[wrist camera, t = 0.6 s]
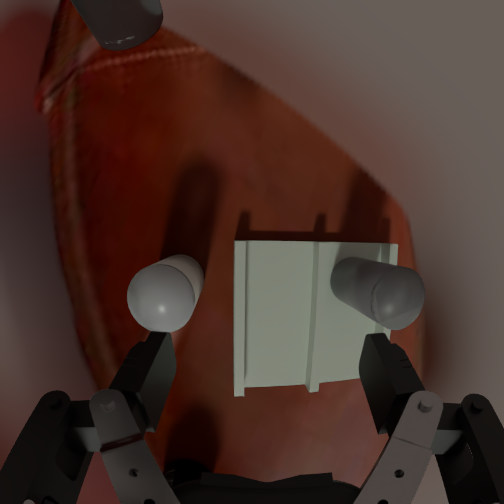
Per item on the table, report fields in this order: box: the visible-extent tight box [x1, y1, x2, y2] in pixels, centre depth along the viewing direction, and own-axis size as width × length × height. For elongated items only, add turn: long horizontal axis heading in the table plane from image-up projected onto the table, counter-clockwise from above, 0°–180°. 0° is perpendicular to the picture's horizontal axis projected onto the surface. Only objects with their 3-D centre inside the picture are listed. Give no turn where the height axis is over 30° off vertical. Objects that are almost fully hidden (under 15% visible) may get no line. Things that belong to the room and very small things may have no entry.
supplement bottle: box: [163, 460, 210, 488], centre depth 26 cm, size 7×7×12 cm
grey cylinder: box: [330, 257, 425, 330], centre depth 26 cm, size 5×5×10 cm
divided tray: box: [233, 240, 398, 396], centre depth 30 cm, size 16×17×3 cm
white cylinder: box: [127, 254, 204, 332], centre depth 26 cm, size 5×5×10 cm
